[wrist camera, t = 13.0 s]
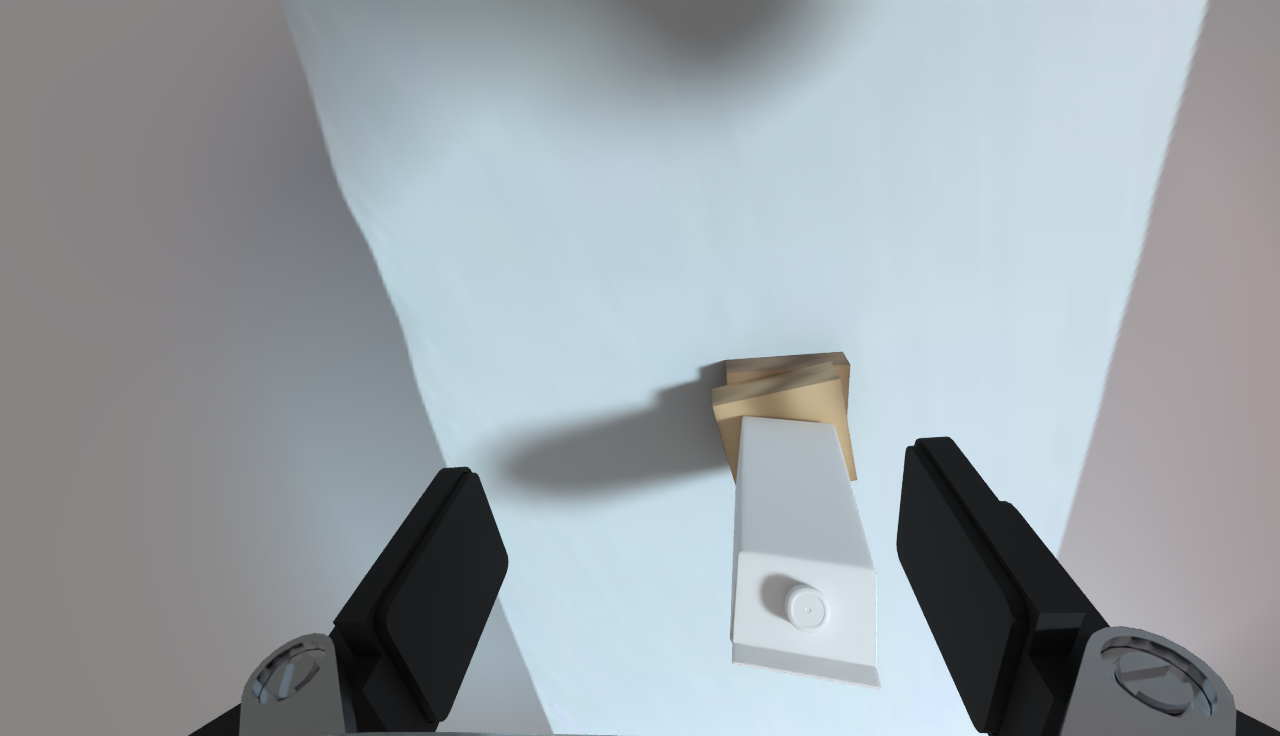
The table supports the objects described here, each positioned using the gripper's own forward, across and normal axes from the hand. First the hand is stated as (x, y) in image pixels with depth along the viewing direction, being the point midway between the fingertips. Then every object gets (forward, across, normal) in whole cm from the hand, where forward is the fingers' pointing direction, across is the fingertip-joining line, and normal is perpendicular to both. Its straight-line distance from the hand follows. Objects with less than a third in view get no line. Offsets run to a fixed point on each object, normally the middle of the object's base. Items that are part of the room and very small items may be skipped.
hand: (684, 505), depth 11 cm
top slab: (+30, -6, +18) cm, 35 cm away
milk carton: (+27, -6, +19) cm, 33 cm away
